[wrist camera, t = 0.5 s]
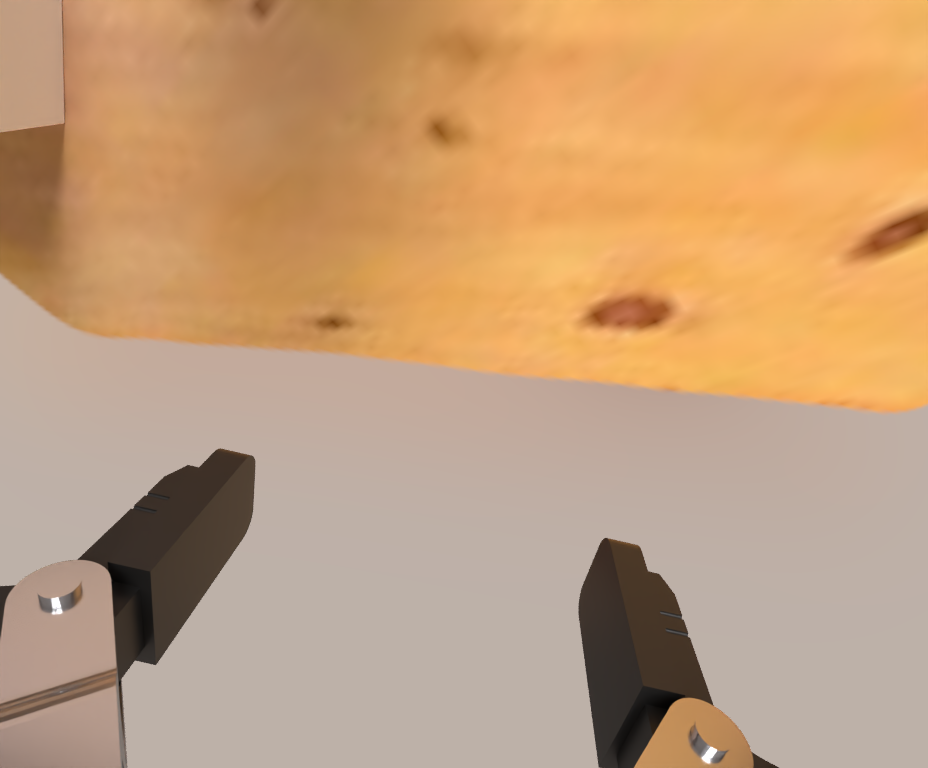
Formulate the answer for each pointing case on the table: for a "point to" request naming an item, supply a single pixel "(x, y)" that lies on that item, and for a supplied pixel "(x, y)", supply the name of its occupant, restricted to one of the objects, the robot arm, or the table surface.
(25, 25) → the cabinet
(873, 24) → the table surface
